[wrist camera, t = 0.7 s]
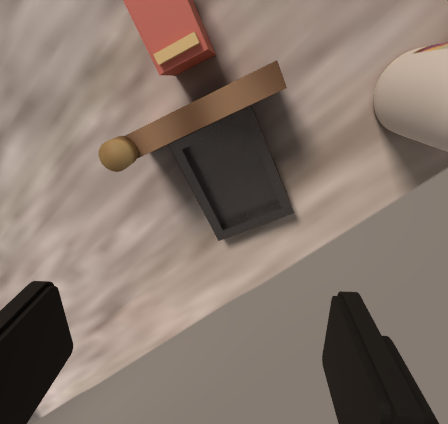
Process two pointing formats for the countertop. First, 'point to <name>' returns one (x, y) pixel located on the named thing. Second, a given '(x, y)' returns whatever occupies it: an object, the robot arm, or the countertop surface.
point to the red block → (171, 33)
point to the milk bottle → (416, 96)
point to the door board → (192, 117)
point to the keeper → (232, 174)
